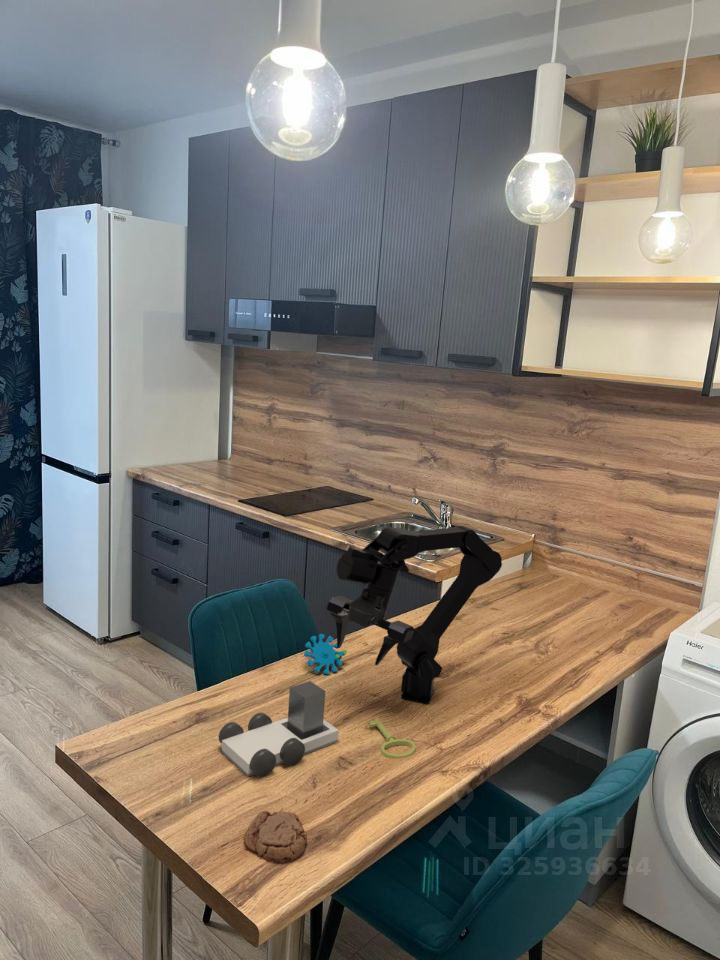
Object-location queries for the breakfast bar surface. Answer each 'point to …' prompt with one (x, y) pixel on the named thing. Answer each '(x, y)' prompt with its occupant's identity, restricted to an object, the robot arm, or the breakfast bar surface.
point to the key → (392, 741)
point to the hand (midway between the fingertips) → (357, 656)
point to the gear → (324, 654)
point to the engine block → (306, 710)
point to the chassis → (269, 744)
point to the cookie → (276, 836)
